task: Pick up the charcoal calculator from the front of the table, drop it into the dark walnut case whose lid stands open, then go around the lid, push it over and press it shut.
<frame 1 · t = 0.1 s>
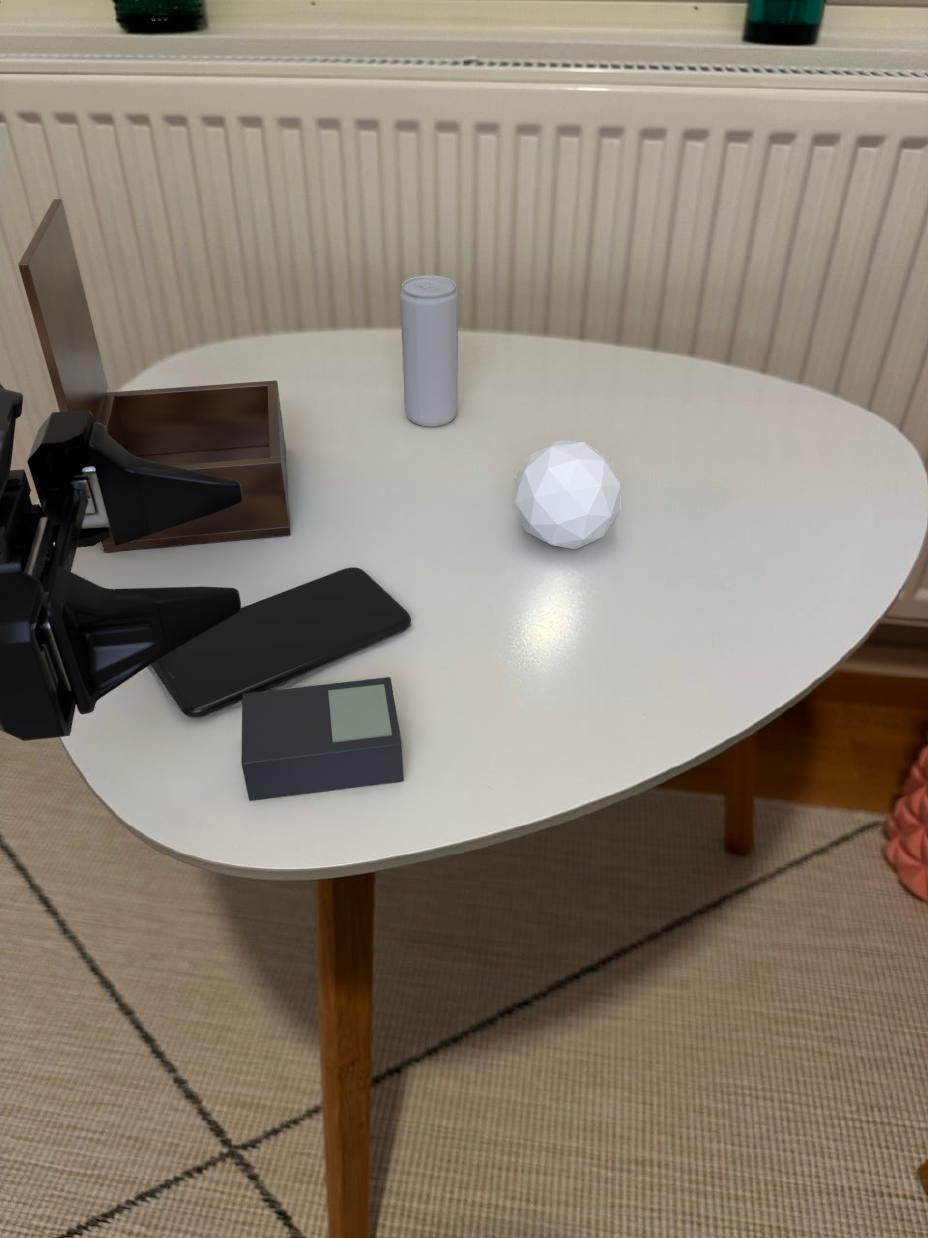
hand: (240, 541, 46), 15 cm above the table, tool horizontal, fingers open, 9 cm apart
case lid: (69, 334, 68), point 14 cm above the table, hinge at 90.0°
smartphone: (282, 643, 64), on the table
geometric ball: (563, 539, 73), on the table
case: (202, 496, 78), on the table
calculator: (324, 755, 56), on the table
beverage can: (431, 418, 89), on the table
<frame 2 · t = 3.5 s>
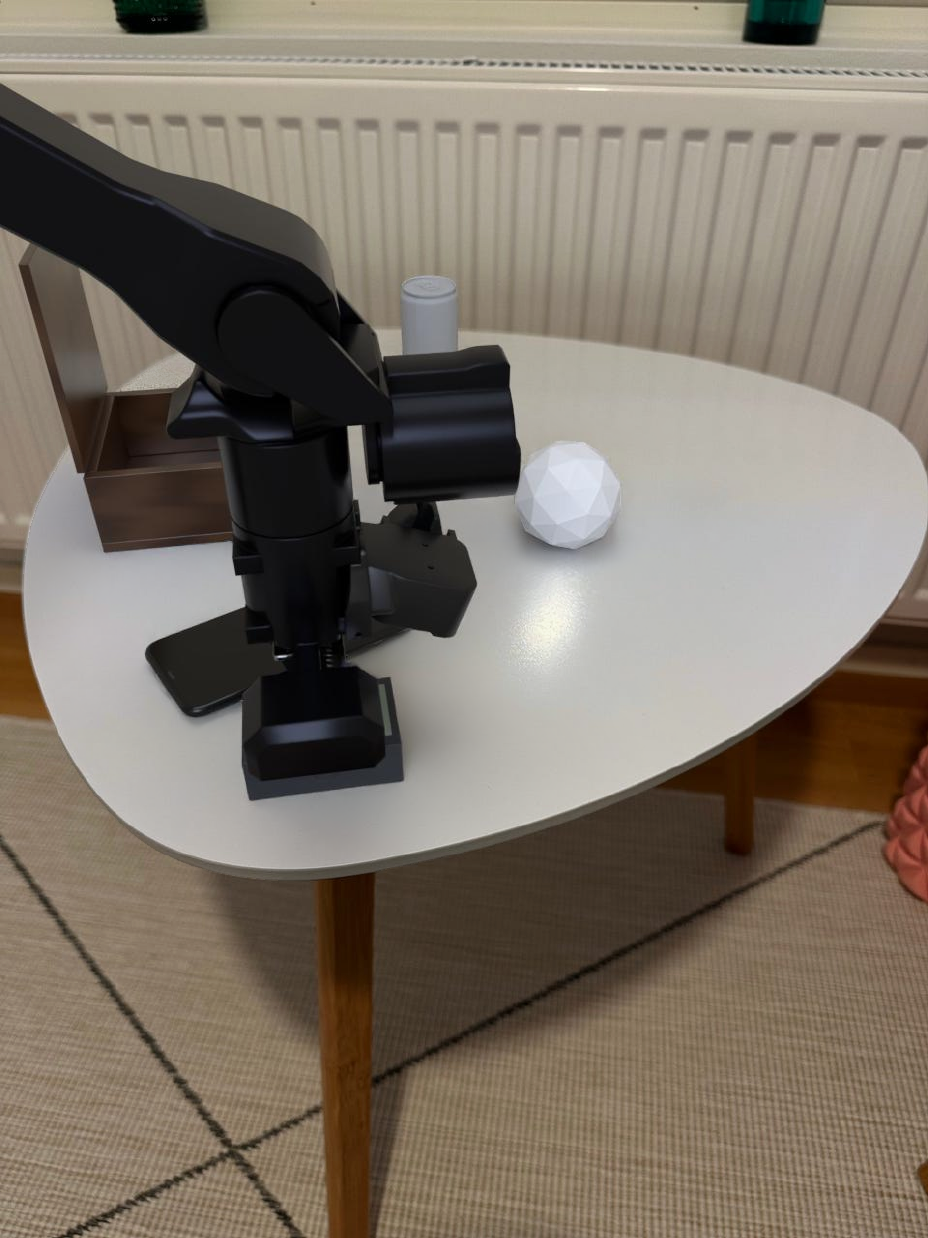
hand: (322, 740, 55), 1 cm above the table, tool pointing down, fingers closed on calculator, 5 cm apart
calculator: (324, 755, 56), on the table, touching gripper
everything else where it was.
when the fingers open (4 cm above the table, at t = 9.3 s): calculator drops 2 cm, resting on case.
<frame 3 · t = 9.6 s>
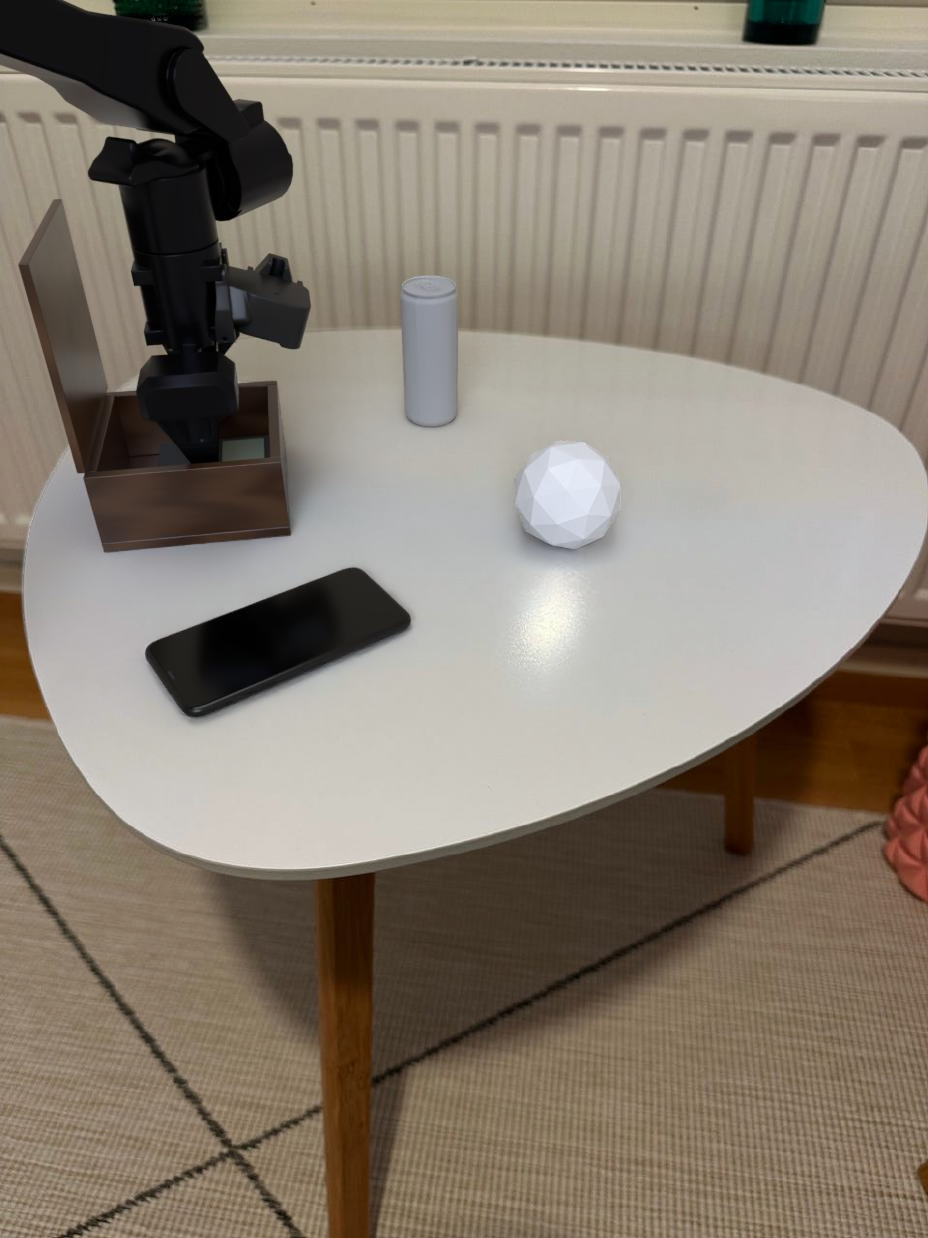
hand: (212, 448, 75), 4 cm above the table, tool pointing down, fingers open, 8 cm apart
calculator: (220, 489, 77), point 1 cm above the table, touching case
everything else where it was.
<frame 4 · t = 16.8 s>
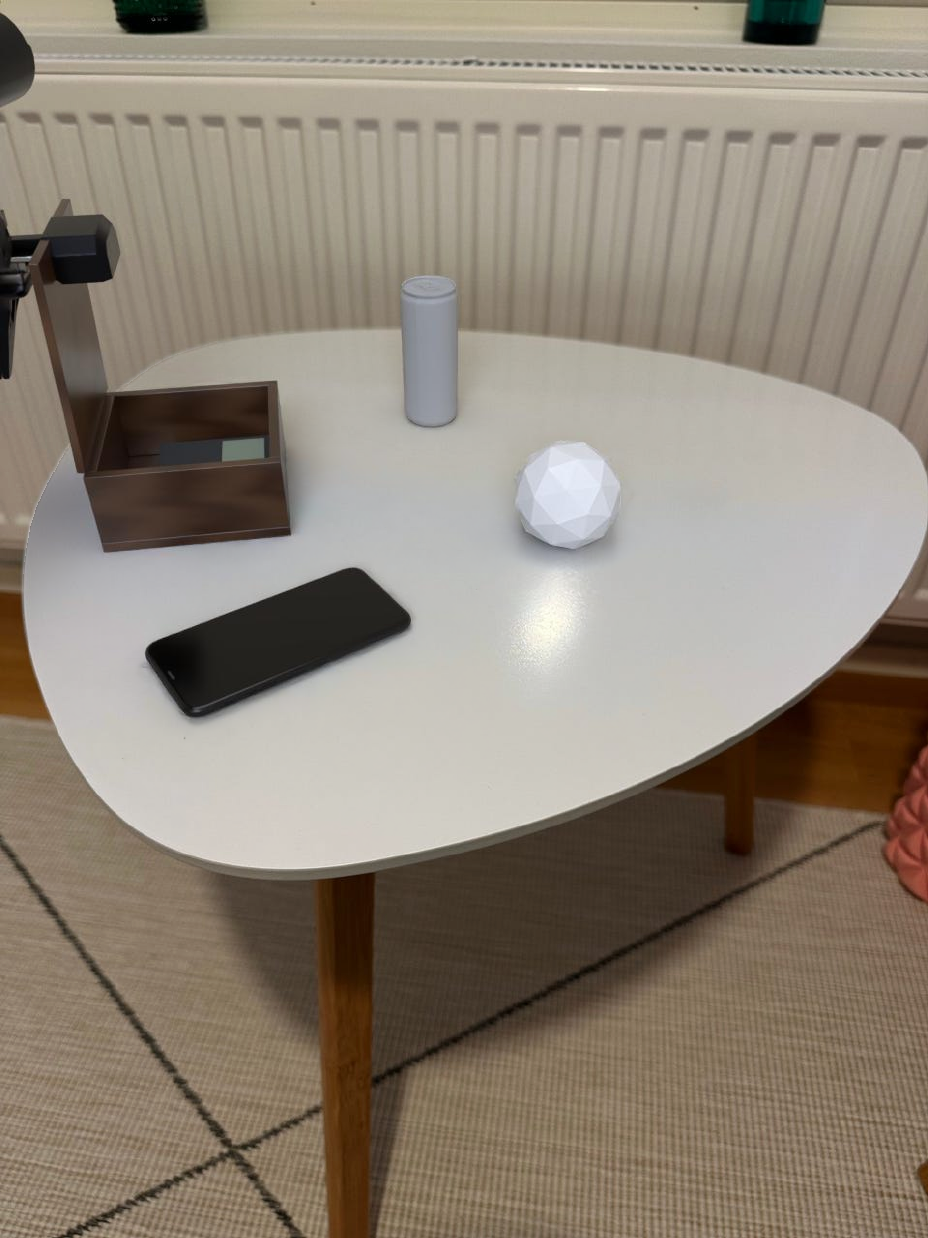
hand: (4, 377, 69), 11 cm above the table, tool pointing down, fingers closed
case lid: (73, 334, 68), point 14 cm above the table, hinge at 87.7°, touching gripper
everything else where it was.
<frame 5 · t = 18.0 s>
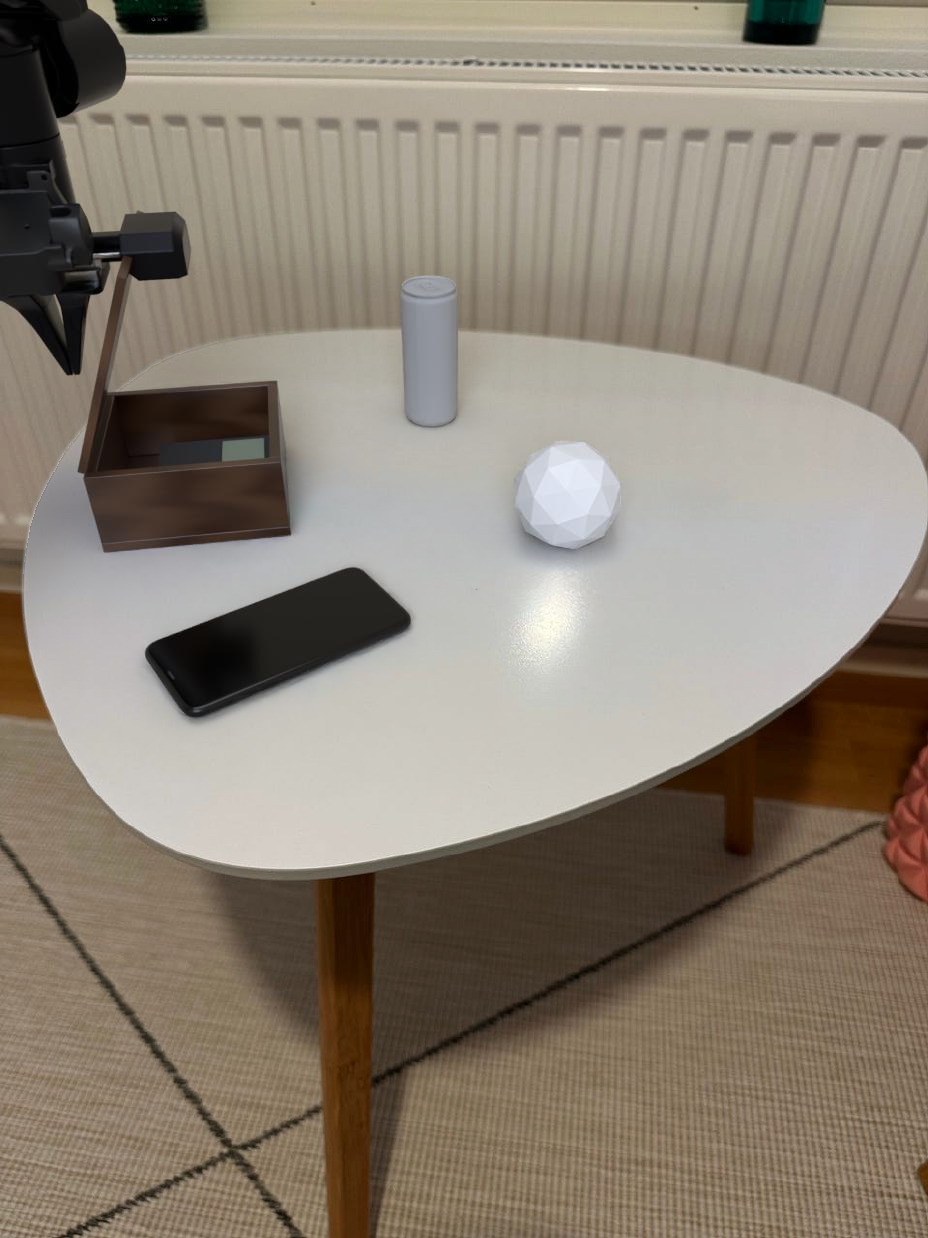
hand: (74, 372, 70), 11 cm above the table, tool pointing down, fingers closed
case lid: (112, 339, 69), point 13 cm above the table, hinge at 67.4°, touching gripper
everything else where it was.
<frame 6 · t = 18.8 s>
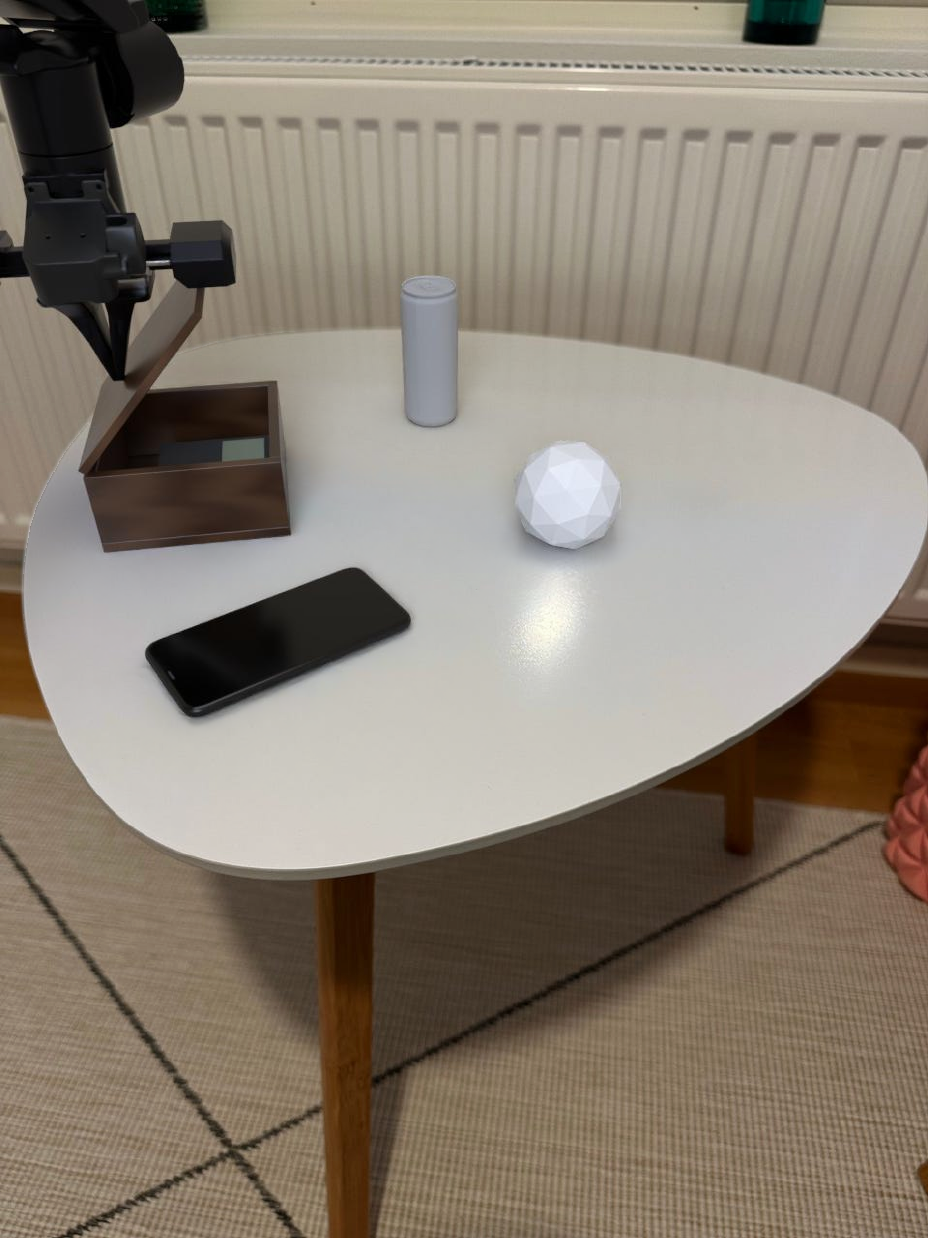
hand: (119, 378, 71), 10 cm above the table, tool pointing down, fingers closed
case lid: (146, 355, 70), point 12 cm above the table, hinge at 47.7°, touching gripper
everything else where it was.
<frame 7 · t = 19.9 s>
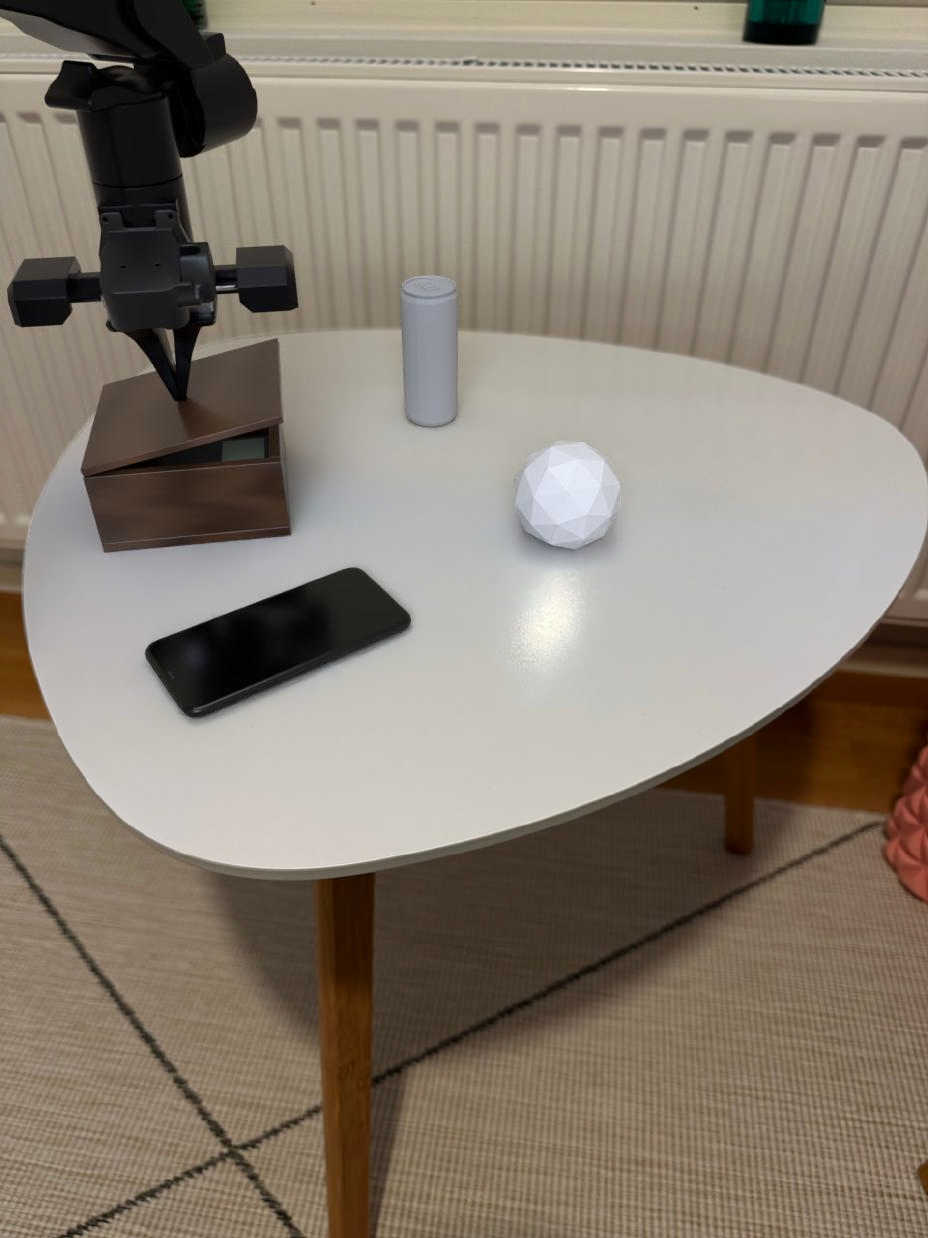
hand: (180, 399, 72), 8 cm above the table, tool pointing down, fingers closed
case lid: (187, 402, 73), point 8 cm above the table, hinge at 11.7°
everything else where it was.
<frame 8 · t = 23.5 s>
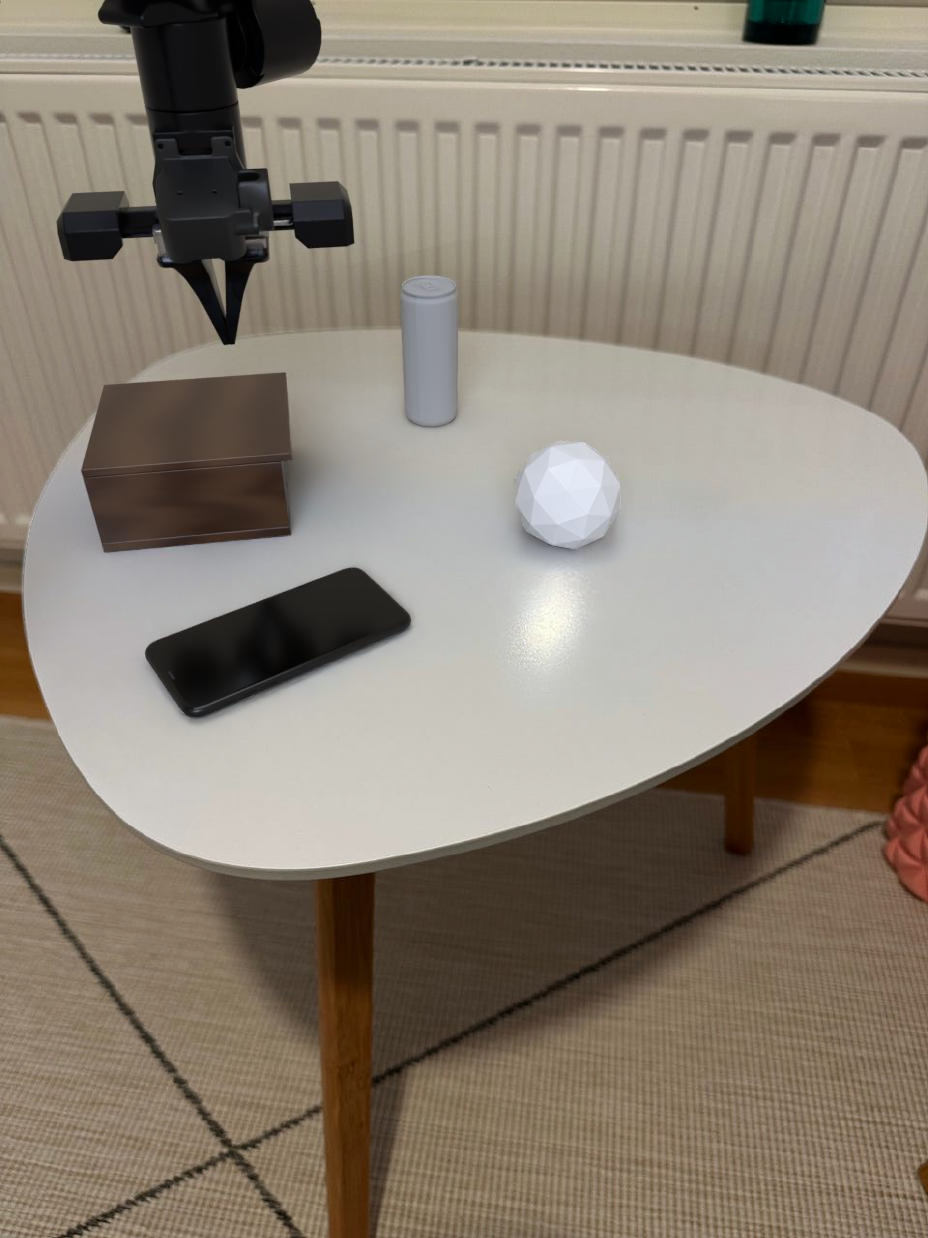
hand: (229, 342, 70), 12 cm above the table, tool pointing down, fingers closed
case lid: (192, 420, 74), point 7 cm above the table, hinge at 0.0°
everything else where it was.
at the end: calculator inside the target area in the case (1.7 cm from its centre), point 0.8 cm above the case's base; case lid at +0° (first picture: +90°) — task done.
